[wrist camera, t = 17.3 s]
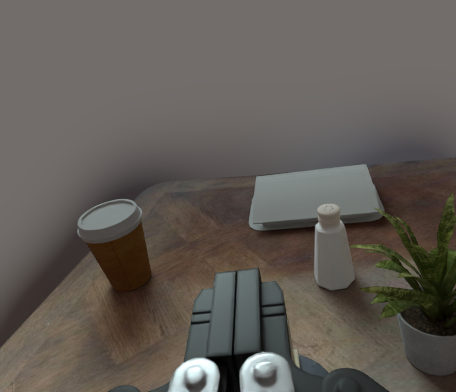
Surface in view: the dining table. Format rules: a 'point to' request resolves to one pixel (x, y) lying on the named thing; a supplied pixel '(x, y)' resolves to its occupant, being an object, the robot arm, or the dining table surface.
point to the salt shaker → (332, 250)
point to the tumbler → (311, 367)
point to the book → (313, 197)
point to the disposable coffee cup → (117, 242)
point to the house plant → (423, 296)
